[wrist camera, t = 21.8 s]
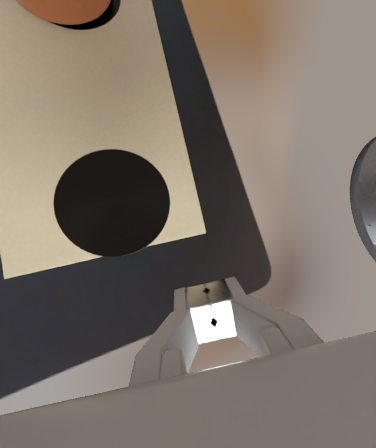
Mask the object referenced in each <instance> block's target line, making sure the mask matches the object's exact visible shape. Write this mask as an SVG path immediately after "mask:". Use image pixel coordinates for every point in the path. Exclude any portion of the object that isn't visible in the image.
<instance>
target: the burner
mask: <svg viewBox="0 0 376 448" xmlns="http://www.w3.org/2000/svg"><path fill="white" fill-rule="evenodd" d="M120 3H121V0H111V1H110V3H109V6H108V7H107V9H106V10H105V11H104V13H103V14H102V15H100V16H99V17H98V18H96V19H94V20H92V21H89V22H86V23H82V24H75V25H66V24H58V23H53V22H51V23H53V24H55V25H58V26H61V27H64V28H68V29H74V30H88V29H94V28H98V27H100V26H103V25H105V24H106V23H108V22H109V21H110V20H112V19H113V18H114V16H115V15H116V14H117V12H118V10H119V7H120ZM49 22H50V21H49Z"/></svg>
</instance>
